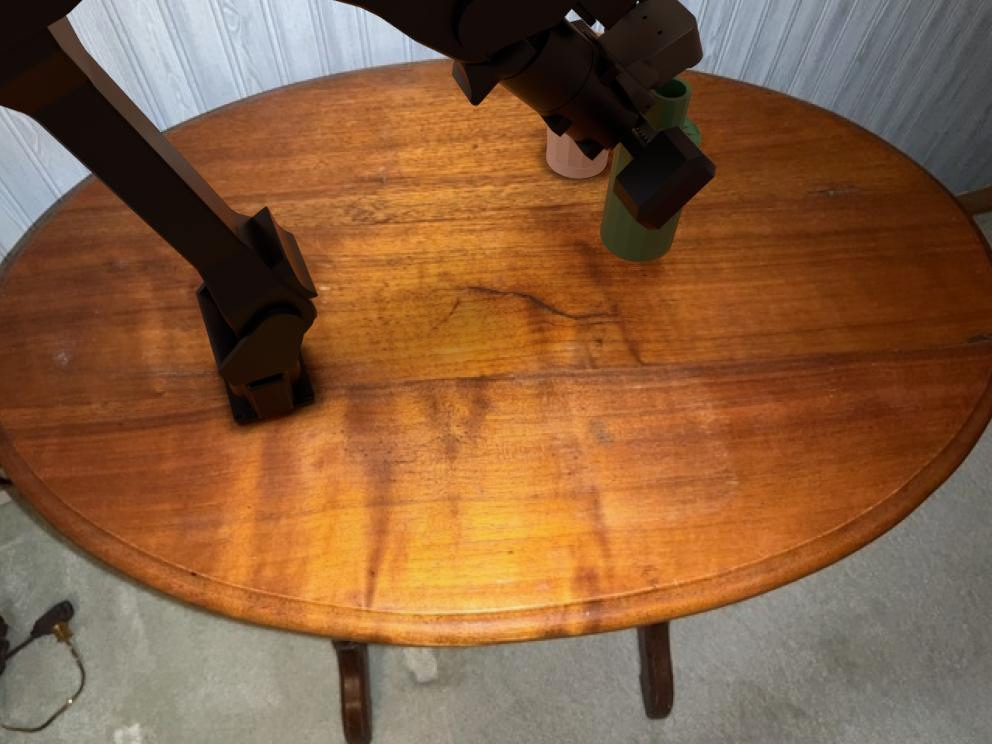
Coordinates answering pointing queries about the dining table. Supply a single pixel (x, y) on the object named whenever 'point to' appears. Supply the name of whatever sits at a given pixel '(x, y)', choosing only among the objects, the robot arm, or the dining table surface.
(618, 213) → the bottle
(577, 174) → the cup
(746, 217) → the dining table surface
